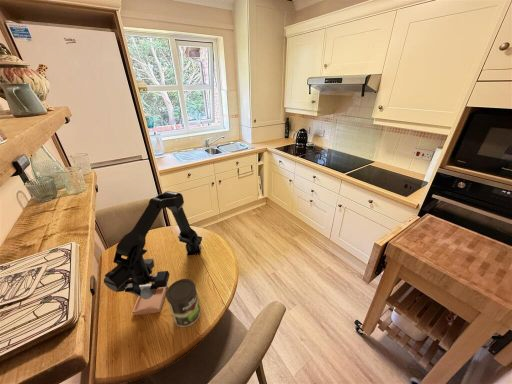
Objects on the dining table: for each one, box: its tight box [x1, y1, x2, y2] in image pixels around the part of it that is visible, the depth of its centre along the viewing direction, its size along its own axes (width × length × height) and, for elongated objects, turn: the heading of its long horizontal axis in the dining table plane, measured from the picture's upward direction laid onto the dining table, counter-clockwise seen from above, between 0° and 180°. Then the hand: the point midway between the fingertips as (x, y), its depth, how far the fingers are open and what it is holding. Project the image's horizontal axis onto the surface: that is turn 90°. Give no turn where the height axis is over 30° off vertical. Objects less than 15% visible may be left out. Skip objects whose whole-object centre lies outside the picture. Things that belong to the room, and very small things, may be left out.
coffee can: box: [165, 278, 201, 328], centre depth 80 cm, size 10×10×14 cm
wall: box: [139, 281, 169, 289], centre depth 93 cm, size 13×1×2 cm, turn 97°
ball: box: [140, 286, 153, 299], centre depth 86 cm, size 5×5×5 cm
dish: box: [131, 287, 168, 316], centre depth 88 cm, size 10×10×2 cm
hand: (148, 294), depth 86 cm, fingers closed on ball, 5 cm apart
